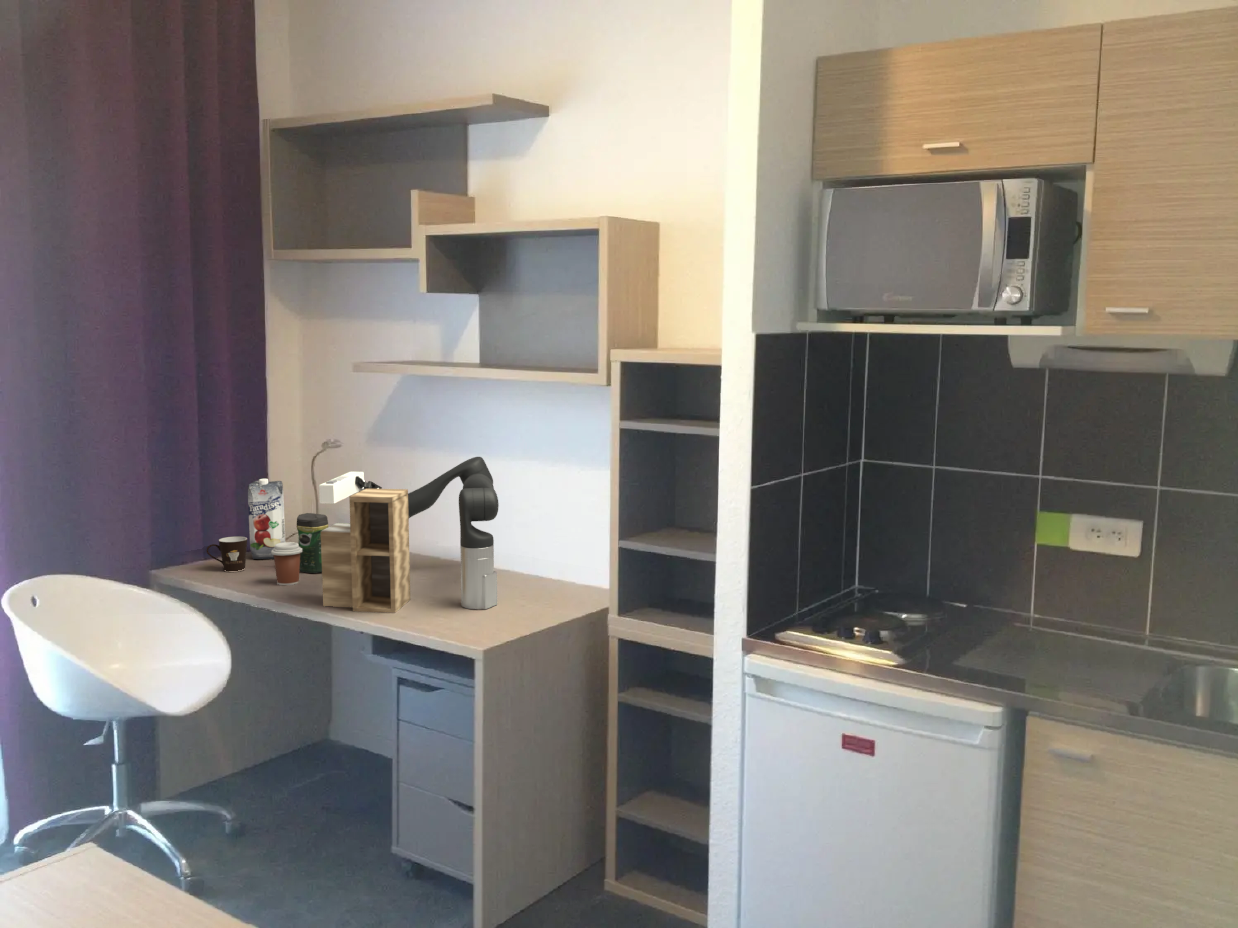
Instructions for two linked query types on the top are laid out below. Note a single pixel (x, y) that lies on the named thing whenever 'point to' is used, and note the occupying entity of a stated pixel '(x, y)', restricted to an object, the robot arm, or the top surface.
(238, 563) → the coffee mug
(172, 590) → the top surface
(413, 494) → the robot arm
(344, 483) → the white long block
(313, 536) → the coffee jar
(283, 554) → the coffee cup
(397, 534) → the step shelf
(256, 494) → the juice carton
